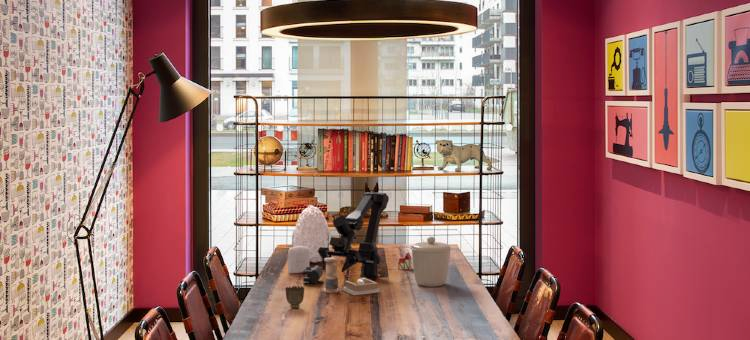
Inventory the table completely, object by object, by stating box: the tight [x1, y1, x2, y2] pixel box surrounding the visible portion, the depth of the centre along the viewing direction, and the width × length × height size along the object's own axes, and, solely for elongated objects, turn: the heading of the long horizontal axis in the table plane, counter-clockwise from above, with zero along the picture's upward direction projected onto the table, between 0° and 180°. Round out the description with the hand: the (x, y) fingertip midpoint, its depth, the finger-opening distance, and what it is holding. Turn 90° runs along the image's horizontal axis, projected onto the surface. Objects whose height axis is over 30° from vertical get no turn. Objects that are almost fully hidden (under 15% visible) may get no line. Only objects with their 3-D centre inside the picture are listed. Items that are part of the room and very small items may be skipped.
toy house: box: [398, 252, 413, 270], centre depth 413 cm, size 6×7×8 cm
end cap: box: [302, 265, 324, 286], centre depth 382 cm, size 10×7×7 cm
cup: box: [285, 285, 305, 310], centre depth 336 cm, size 8×7×8 cm
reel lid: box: [356, 277, 368, 285], centre depth 380 cm, size 6×6×2 cm
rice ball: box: [291, 204, 331, 263], centre depth 432 cm, size 28×19×28 cm
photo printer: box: [287, 246, 310, 274], centre depth 403 cm, size 10×4×12 cm, turn 116°
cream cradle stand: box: [343, 278, 381, 296], centre depth 365 cm, size 12×10×4 cm
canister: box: [410, 236, 453, 288], centre depth 378 cm, size 18×18×21 cm
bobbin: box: [323, 256, 340, 294], centre depth 365 cm, size 6×6×14 cm
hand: (332, 270), depth 365 cm, fingers open, 9 cm apart
